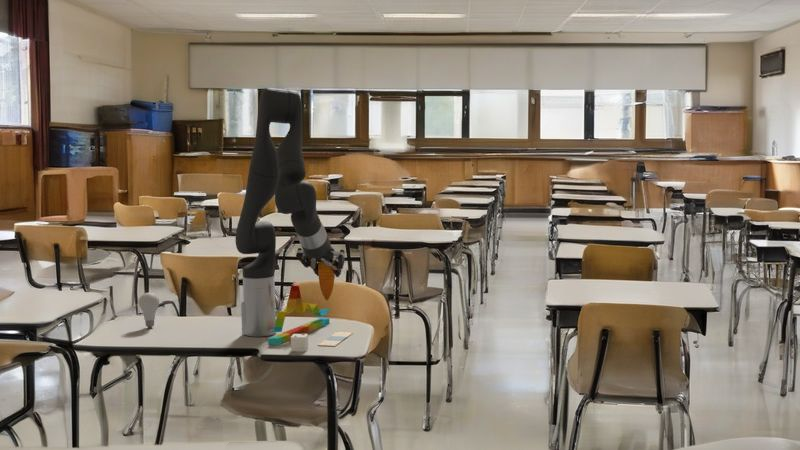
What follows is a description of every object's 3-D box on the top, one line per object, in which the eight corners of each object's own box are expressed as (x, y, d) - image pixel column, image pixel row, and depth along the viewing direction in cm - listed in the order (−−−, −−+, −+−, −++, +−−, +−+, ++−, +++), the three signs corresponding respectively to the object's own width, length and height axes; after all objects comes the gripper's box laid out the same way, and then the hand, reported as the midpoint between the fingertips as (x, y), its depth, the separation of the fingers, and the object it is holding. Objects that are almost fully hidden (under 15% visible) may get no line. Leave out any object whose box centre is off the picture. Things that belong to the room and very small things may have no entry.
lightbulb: (144, 331, 283) (143, 295, 282) (136, 327, 288) (134, 292, 287) (163, 328, 287) (162, 292, 286) (155, 324, 292) (153, 290, 291)
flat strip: (317, 345, 261) (317, 344, 261) (336, 332, 277) (336, 331, 277) (334, 346, 260) (334, 345, 260) (353, 333, 276) (353, 332, 276)
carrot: (322, 298, 265) (322, 245, 263) (338, 299, 263) (338, 246, 261) (315, 301, 260) (314, 248, 258) (331, 302, 258) (330, 248, 257)
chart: (320, 323, 292) (319, 275, 290) (329, 324, 290) (328, 276, 289) (267, 345, 264) (265, 292, 263) (277, 346, 263) (275, 293, 261)
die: (291, 351, 255) (290, 336, 255) (293, 348, 259) (293, 333, 259) (305, 351, 255) (305, 336, 255) (308, 348, 259) (307, 333, 259)
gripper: (341, 226, 250) (356, 264, 263) (291, 225, 254) (308, 262, 267) (335, 249, 246) (350, 286, 258) (284, 247, 249) (301, 283, 262)
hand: (328, 273), depth 263 cm, fingers closed on carrot, 5 cm apart
